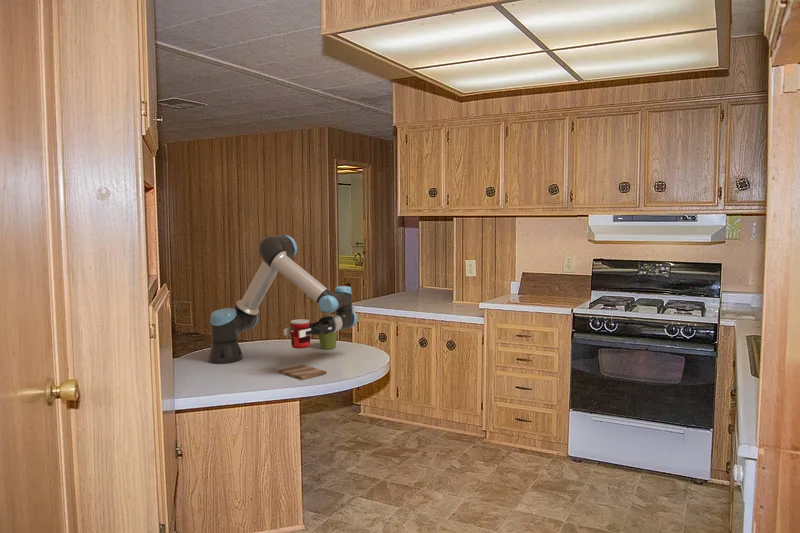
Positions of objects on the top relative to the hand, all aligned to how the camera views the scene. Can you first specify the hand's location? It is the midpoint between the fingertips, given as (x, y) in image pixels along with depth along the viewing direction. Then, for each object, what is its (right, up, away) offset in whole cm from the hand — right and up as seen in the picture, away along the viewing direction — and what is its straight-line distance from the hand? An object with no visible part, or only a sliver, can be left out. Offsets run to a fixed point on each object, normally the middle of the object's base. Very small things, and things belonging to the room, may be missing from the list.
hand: (291, 333), depth 251 cm
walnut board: (+3, -17, +5) cm, 19 cm away
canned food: (+3, -6, +4) cm, 8 cm away
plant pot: (+9, -13, +52) cm, 54 cm away
